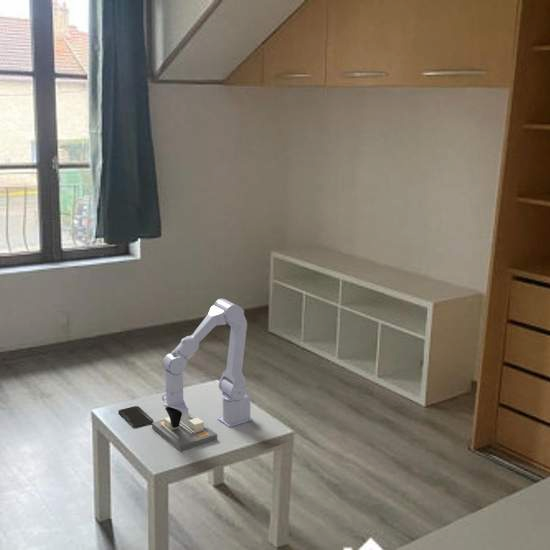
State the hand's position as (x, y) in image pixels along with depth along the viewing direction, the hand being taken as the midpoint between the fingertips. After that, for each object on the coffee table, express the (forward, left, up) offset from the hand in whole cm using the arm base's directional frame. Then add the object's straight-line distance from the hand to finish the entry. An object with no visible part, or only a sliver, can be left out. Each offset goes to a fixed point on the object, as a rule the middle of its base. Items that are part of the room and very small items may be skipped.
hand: (175, 426), depth 243 cm
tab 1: (0, -3, -1) cm, 3 cm away
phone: (+5, -21, -4) cm, 22 cm away
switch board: (-3, 0, -3) cm, 5 cm away
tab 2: (-6, +3, -1) cm, 7 cm away
